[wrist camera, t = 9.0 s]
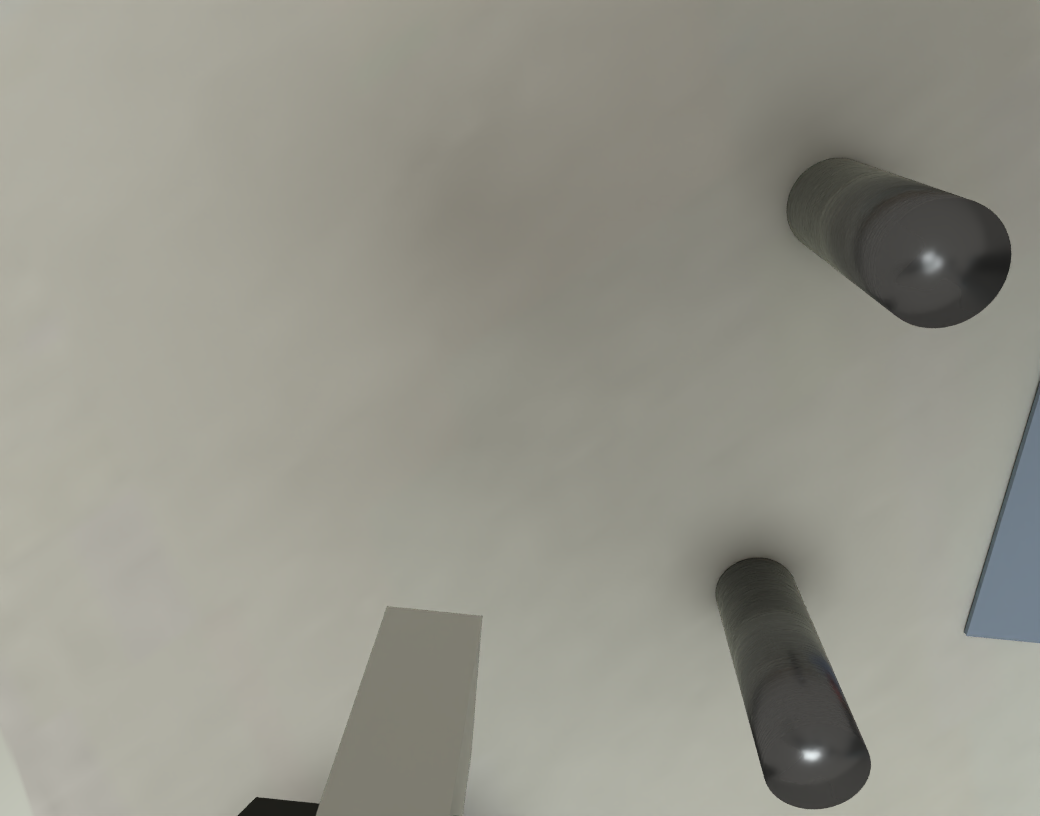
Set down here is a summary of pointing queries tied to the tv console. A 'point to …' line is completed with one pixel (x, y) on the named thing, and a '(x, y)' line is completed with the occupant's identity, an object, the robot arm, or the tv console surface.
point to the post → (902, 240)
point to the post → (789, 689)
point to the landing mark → (1014, 553)
